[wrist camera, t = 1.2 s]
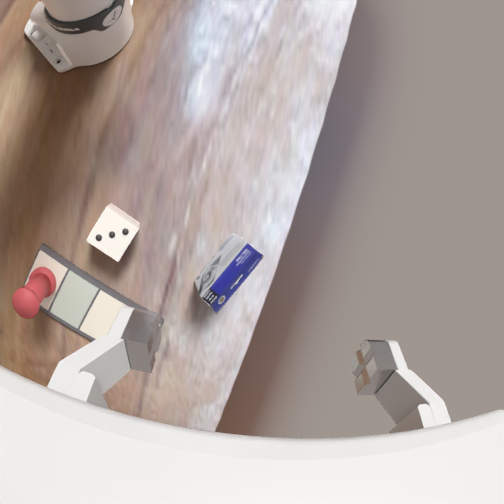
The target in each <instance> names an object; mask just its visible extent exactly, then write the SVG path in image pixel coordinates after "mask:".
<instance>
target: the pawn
mask: <svg viewBox="0 0 504 504" xmlns="http://www.w3.org/2000/svg"><path fill="white" fill-rule="evenodd" d="M55 288H56V278H55V276H54V274H53V272H52V271H51V270H50V269H48V268H46V267H38V268H36V269H35V270H34V271H33V272H32V273H31V274H30V277H29V282H28V283H27V284H26V285H25V286H24V287H21V288H19V289H18V290H17V291H16V292H15V293H14V295H13V298H12V303H13V307H14V309H15V311H16V312H17V313H18V314H19V315H20V316H22V317H23V318H27V319H30V318H33V317H34V316H36V314H37V313H38V311H39V308H40V304H41V302H42V301H43V299H44V298H47V297H49V296H50V295H52V293H53V292H54V290H55Z"/></svg>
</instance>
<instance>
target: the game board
mask: <svg viewBox="0 0 504 504" xmlns="http://www.w3.org/2000/svg"><path fill="white" fill-rule="evenodd" d="M38 267H46V268H48V269H50V270H51V271H52V272H53V274H54V276H55V278H56V288H55V290H54V292H53V293H52V295H50V296H49V297H47V298H44V299H43V301H42V302H41V304H40V308H39V309H40V310H42V311H43V312H45V313H46V314H48V315H49V316H51V317H53V318H54V319H56V320H57V321H59V322H61V323H62V324H64V325H65V326H67V327H69V328H70V329H72V330H74V331H75V332H77V333H79V334H81V335H82V336H84V337H86V338H88V339H89V340H91V341H94V340H96V339H97V338H99V337H100V336H102V335H108V333H109V330H110V328H111V326H112V324H113V322H114V320H115V318H116V316H117V314H118V312H119V310H120V308H121V307H122V306H123V305H125V306H129V307H133V308H138V309H142V310H146V311H149V310H147V309H145V308H143V307H142V306H140V305H138V304H137V303H135V302H133V301H131V300H130V299H128V298H126V297H125V296H123V295H121V294H120V293H118V292H116V291H115V290H113V289H111V288H110V287H108V286H106V285H105V284H103V283H102V282H100V281H99V280H97V279H95V278H94V277H92V276H91V275H89V274H88V273H86V272H84V271H83V270H81V269H80V268H78V267H77V266H75V265H74V264H72V263H71V262H69V261H68V260H67V259H65V258H64V257H62V256H61V255H59V254H58V253H56V252H55V251H54V250H52V249H51V248H49V247H48V246H46V245H45V244H44V243H43V244H42V245H41V247H40V249H39V251H38V253H37V256H36V258H35V260H34V262H33V265H32V267H31V269H30V271H29V274H28V276H27V278H26V281H25V283H24V286H25V285H26V284H27V283H28V282H29V277H30V274H31V273H32V272H33V271H34V270H35V269H36V268H38ZM24 286H23V287H24ZM163 322H164V319H163V318H161V321H160V324H159V326H160V327H161V325H162V324H163Z"/></svg>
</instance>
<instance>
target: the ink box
mask: <svg viewBox="0 0 504 504" xmlns="http://www.w3.org/2000/svg"><path fill="white" fill-rule="evenodd" d="M263 257H264V256H263V255H262V254H261V253H259V252H258V251H257V250H256V248H254V247H253V246H252V245H251V244H250V243H248V242H247V241H245V240H244V239H242V238H241V237H239V236H238V235H236V234H235V233H233V234H232V235H231V236H230V237H229V238H228V239H227V241H226V242H225V243H224V244H223V246H222V247H221V248H220V249H219V251H218V252H217V253H216V254H215V256H214V257H213V258H212V259H211V260H210V262H209V263H208V264H207V265H206V267H205V268H204V269H203V270H202V271H201V273H200V274H199V275H198V276H197V278H196V279H195V280H194V282H195V284H196V287H197V290H198V292H199V295H200V297H201V299H202V300H203V301H204V302H205V303H206V304H208V305H209V306H211V307H212V308H213V310H214V312H215V313H216V314H217V313H218V312H219V311H220V309H221V308H222V307H223V306H224V305H225V303H226V302H227V301H228V300H229V298H230V297H231V296H232V295H233V294H234V293H235V291H236V290H237V289H238V288H239V287H240V286H241V284H242V283H243V282H244V281H245V280H246V278H247V277H248V276H249V275H250V273H251V272H252V271H253V270H254V269H255V267H256V266H257V265H258V264H259V262H260V261H261V260H262V259H263ZM242 274H243V276H242V277H241V278H240V280H239V282H238V283H237V284H236V285H235V286H234V287H233V288H232V289H231V287H232V286H233V284H234V283H235V282H236V281H237V280H238V278H239V277H240V276H241V275H242Z"/></svg>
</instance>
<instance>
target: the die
mask: <svg viewBox="0 0 504 504" xmlns="http://www.w3.org/2000/svg"><path fill="white" fill-rule="evenodd" d="M139 225H140V223H139V222H138V221H136V220H135V219H133V218H132V217H130V216H129V215H128V214H126V213H125V212H123V211H122V210H120V209H119V208H117V207H116V206H115V205H113V204H112V203H110V204H109V205H108V206H107V207H106V208H105V210H104V211H103V213H102V215H101V216H100V218H99V219H98V221H97V223H96V224H95V226H94V228H93V229H92V231H91V233H90V235H89V236H88V238H87V240H86V241H87V242H89V243H90V244H92V245H93V246H95V247H96V248H98V249H99V250H101V251H102V252H104V253H105V254H107V255H108V256H110V257H111V258H113V259H114V260H116V261H117V262H119V260H120V258H121V257H122V255H123V253H124V252H125V250H126V249H127V247H128V245H129V244H130V242H131V241H132V239H133V238H134V236H135V234H136V233H137V231H138V230H139Z"/></svg>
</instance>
